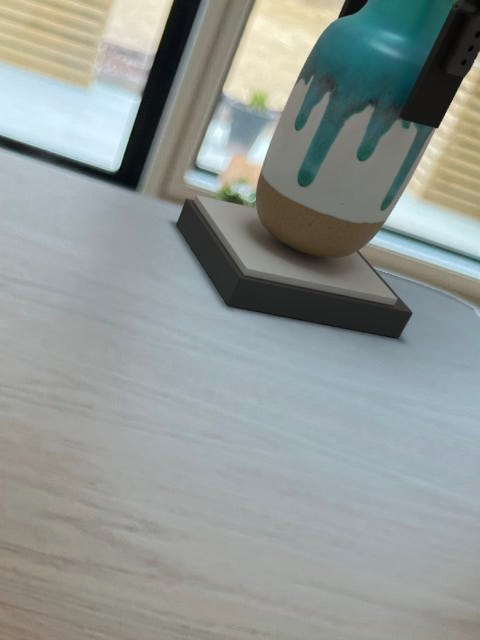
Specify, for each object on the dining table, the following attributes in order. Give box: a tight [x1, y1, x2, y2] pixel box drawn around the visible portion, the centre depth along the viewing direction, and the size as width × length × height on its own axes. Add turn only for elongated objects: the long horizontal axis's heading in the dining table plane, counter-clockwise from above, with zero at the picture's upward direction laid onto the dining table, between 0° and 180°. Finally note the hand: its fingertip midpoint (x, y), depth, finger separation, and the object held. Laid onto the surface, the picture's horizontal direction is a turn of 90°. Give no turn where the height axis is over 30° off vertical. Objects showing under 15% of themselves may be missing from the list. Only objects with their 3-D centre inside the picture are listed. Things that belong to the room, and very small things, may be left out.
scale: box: [176, 194, 413, 339], centre depth 83 cm, size 15×14×3 cm
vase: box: [255, 0, 458, 258], centre depth 76 cm, size 11×11×19 cm
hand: (376, 88), depth 74 cm, fingers open, 13 cm apart
